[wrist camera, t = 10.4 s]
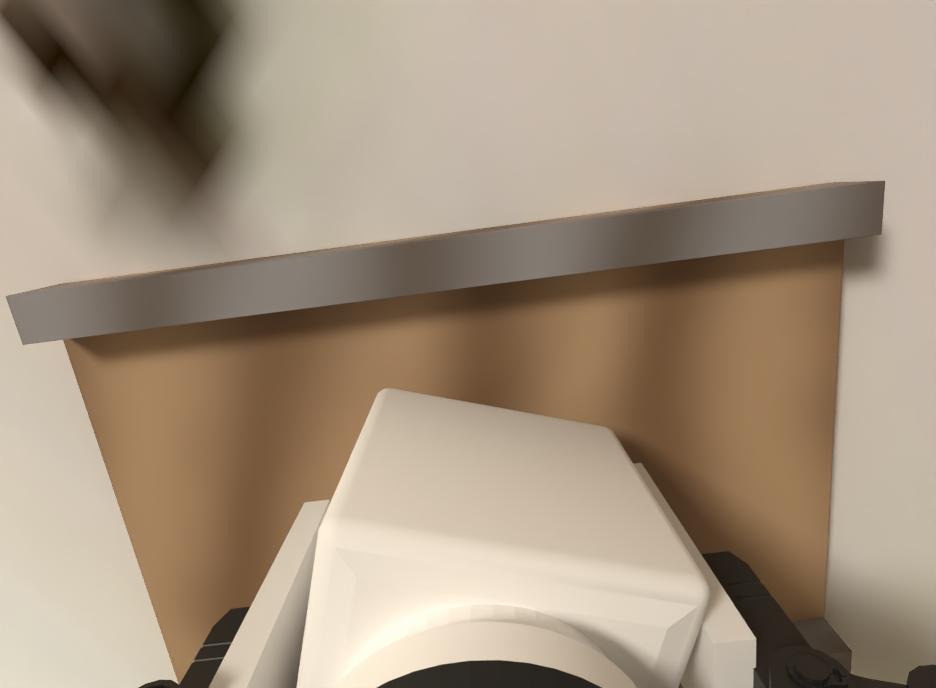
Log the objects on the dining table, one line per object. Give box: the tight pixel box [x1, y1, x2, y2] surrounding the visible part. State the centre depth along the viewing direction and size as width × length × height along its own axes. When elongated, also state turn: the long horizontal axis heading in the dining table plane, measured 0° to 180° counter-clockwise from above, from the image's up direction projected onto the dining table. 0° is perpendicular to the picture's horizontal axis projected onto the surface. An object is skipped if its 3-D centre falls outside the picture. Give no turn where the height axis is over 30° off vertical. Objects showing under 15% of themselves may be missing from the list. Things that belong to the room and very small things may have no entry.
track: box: [6, 181, 885, 688], centre depth 18 cm, size 24×17×2 cm
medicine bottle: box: [296, 388, 711, 688], centre depth 11 cm, size 7×7×12 cm
